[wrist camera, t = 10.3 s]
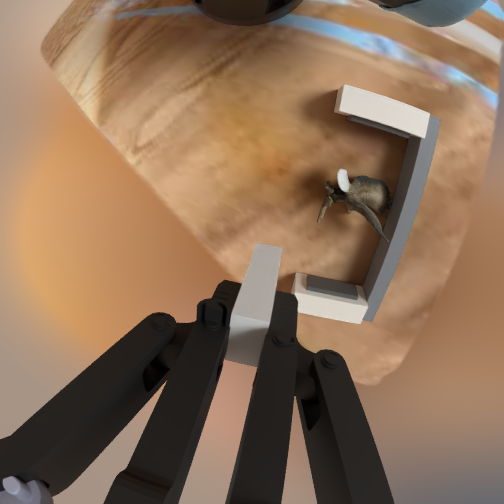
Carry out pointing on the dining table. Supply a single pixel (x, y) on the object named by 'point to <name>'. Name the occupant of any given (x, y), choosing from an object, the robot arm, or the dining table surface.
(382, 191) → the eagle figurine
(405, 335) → the dining table surface
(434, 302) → the dining table surface
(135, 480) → the robot arm
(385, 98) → the rail
